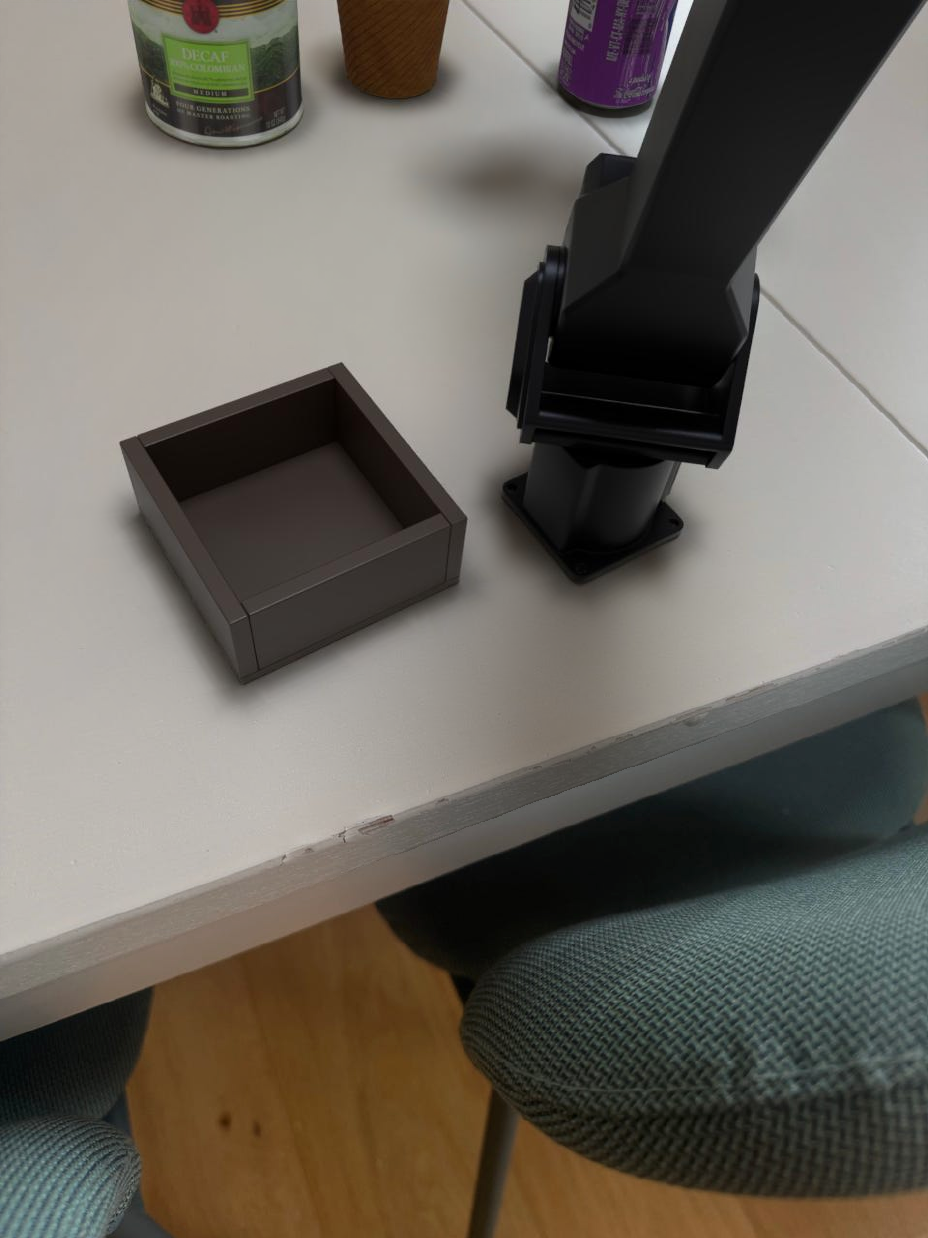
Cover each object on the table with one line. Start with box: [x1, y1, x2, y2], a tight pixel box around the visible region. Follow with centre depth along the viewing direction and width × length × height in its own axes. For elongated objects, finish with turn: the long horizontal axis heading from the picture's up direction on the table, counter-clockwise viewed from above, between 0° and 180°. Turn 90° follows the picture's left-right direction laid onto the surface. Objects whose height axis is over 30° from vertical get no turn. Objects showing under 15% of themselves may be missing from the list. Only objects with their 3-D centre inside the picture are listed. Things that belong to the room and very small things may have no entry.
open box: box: [118, 361, 469, 685], centre depth 41 cm, size 11×11×4 cm
